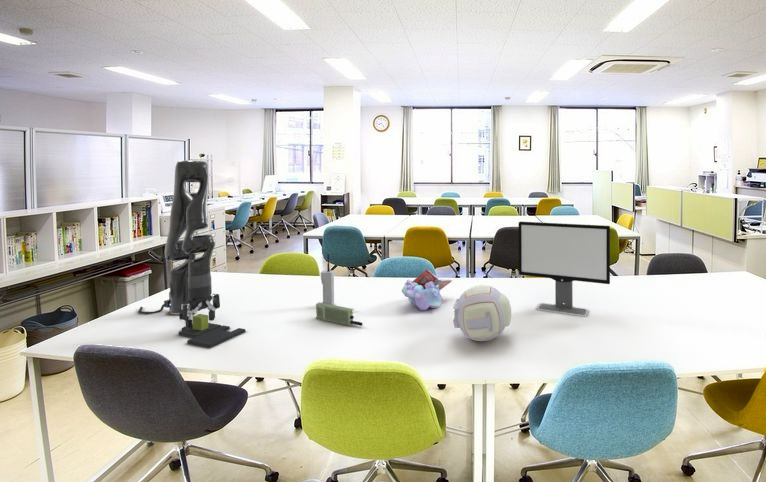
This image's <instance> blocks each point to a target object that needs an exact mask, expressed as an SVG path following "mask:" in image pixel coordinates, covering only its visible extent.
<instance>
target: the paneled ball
mask: <svg viewBox="0 0 766 482" xmlns="http://www.w3.org/2000/svg"><path fill="white" fill-rule="evenodd" d="M452 308H453V310H454V311H453V312H454V313H453V317H454V318H453V320H452V321H453V326H454V329H460V331H461V332H462V333H463V334H464V336H465V337H467V338H468V339H470V340H472V341H476V342H487V341H488V342H489V341H491V340H493V339H495V338H497V337H498V336H500V335H501V334H502V333H503V332H504V330H505V329H506V328H508V327H509V326H510V323H511V321H512V320H511V319H512V307H511V303H510V300H509V299H508V297H507V295H506V294H504V293H503V292H501V291H500V290H499V289H497V288H495V286H494V287H493V286H491V285H486V284H478V285H474V286H472V287H469V288H468V289H466V290H464V291H463V292H462V294H461V295H460V296H459V298H456V299H455V302H454V304H453V306H452Z"/></svg>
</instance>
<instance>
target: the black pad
mask: <svg viewBox="0 0 766 482" xmlns="http://www.w3.org/2000/svg"><path fill="white" fill-rule="evenodd" d="M192 325H193V328H192V329H187V328H186V326H184V327H181V331H179V332H178V336H183V337H187V338H191V339H192V338H194V337H197V336H199V335H202V334H204V333H206V332H209V331H211V330H214V329H216V328H218V327H221V326H223V325H222V324H217V323H211V322H209V314H204V313H203V314H202V313H198V314H194V316H193V317H192Z"/></svg>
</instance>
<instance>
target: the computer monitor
mask: <svg viewBox="0 0 766 482" xmlns="http://www.w3.org/2000/svg"><path fill="white" fill-rule="evenodd" d="M518 276H527V277H535V278H545V279H552V280H553V281H555V282H554V285H555V287H554V288H555V293H554V295H555V296H554V297H555V300H554V301H555V304H553V303H545V302H542V303H539V304H538V305H537V310H539V311H542V312H550V313H555V314H564V315H571V316H578V317H586V316H588V309H587V308H583V307H576V306H573V301H574V300H573V282H584V283H594V284H604V285H610V283H611V226H610V225H604V224H603V225H601V224H600V225H599V224H580V223H578V224H577V223H559V222H540V221H539V222H538V221H537V222H536V221H519V222H518Z"/></svg>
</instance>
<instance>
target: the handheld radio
mask: <svg viewBox="0 0 766 482" xmlns="http://www.w3.org/2000/svg"><path fill="white" fill-rule="evenodd" d="M354 310H355V309H354V308H352V307H351V308H350V307H345V306H341V305H335V304H334V305H330V304H325V303H322V302H317V303H316V304H315V312H316V313H315V314H316V319H318V320H322V321H327V322H331V323H334V324H335V323H336V324H340V325H344V326H351V327H352V326H355V325H356V326H360V327H362V326H363V322H361V321H357V320H354V318H355V316H354V315H353V314H354Z"/></svg>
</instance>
